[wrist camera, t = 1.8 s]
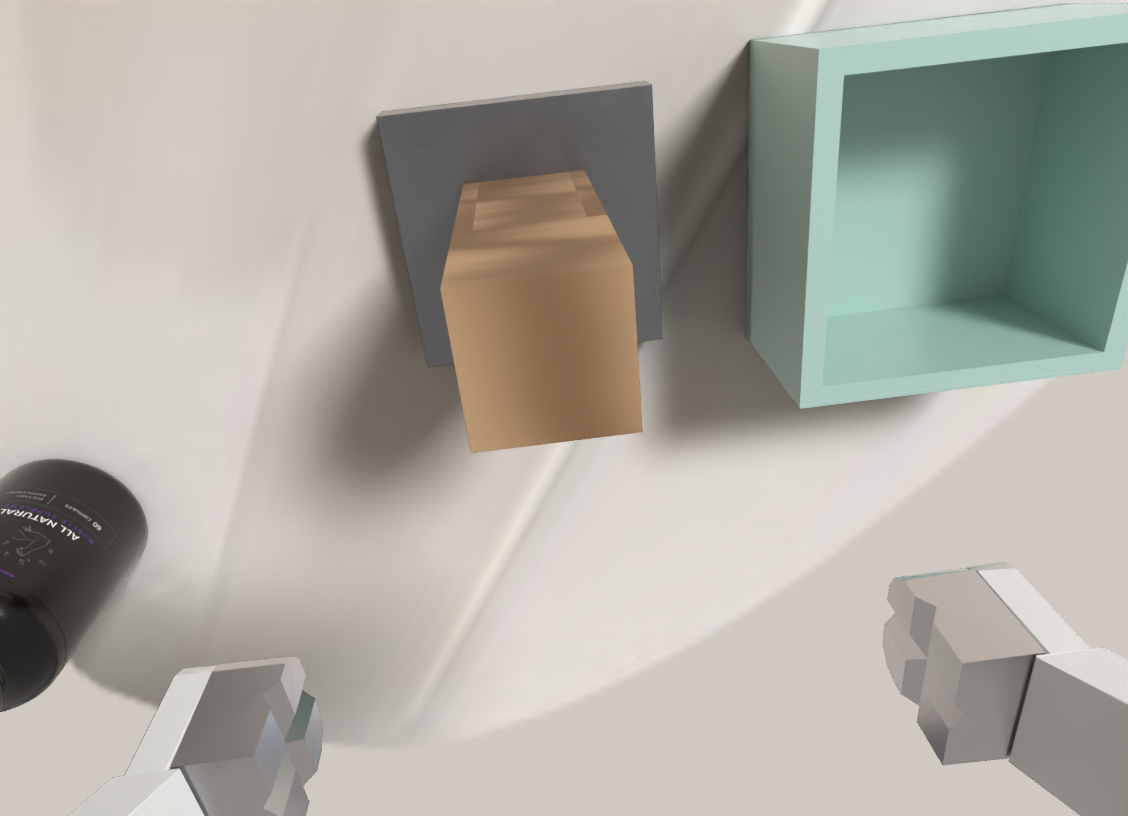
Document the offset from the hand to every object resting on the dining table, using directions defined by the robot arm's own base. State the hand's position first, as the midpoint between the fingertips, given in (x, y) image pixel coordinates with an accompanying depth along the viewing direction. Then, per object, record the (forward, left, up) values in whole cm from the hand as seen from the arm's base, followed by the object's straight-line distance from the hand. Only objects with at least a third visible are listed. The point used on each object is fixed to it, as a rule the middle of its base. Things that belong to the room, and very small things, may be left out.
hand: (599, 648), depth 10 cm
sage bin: (+15, 0, -23) cm, 27 cm away
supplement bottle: (-23, -11, -23) cm, 35 cm away
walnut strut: (0, 0, -22) cm, 22 cm away
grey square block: (0, 0, -23) cm, 23 cm away
